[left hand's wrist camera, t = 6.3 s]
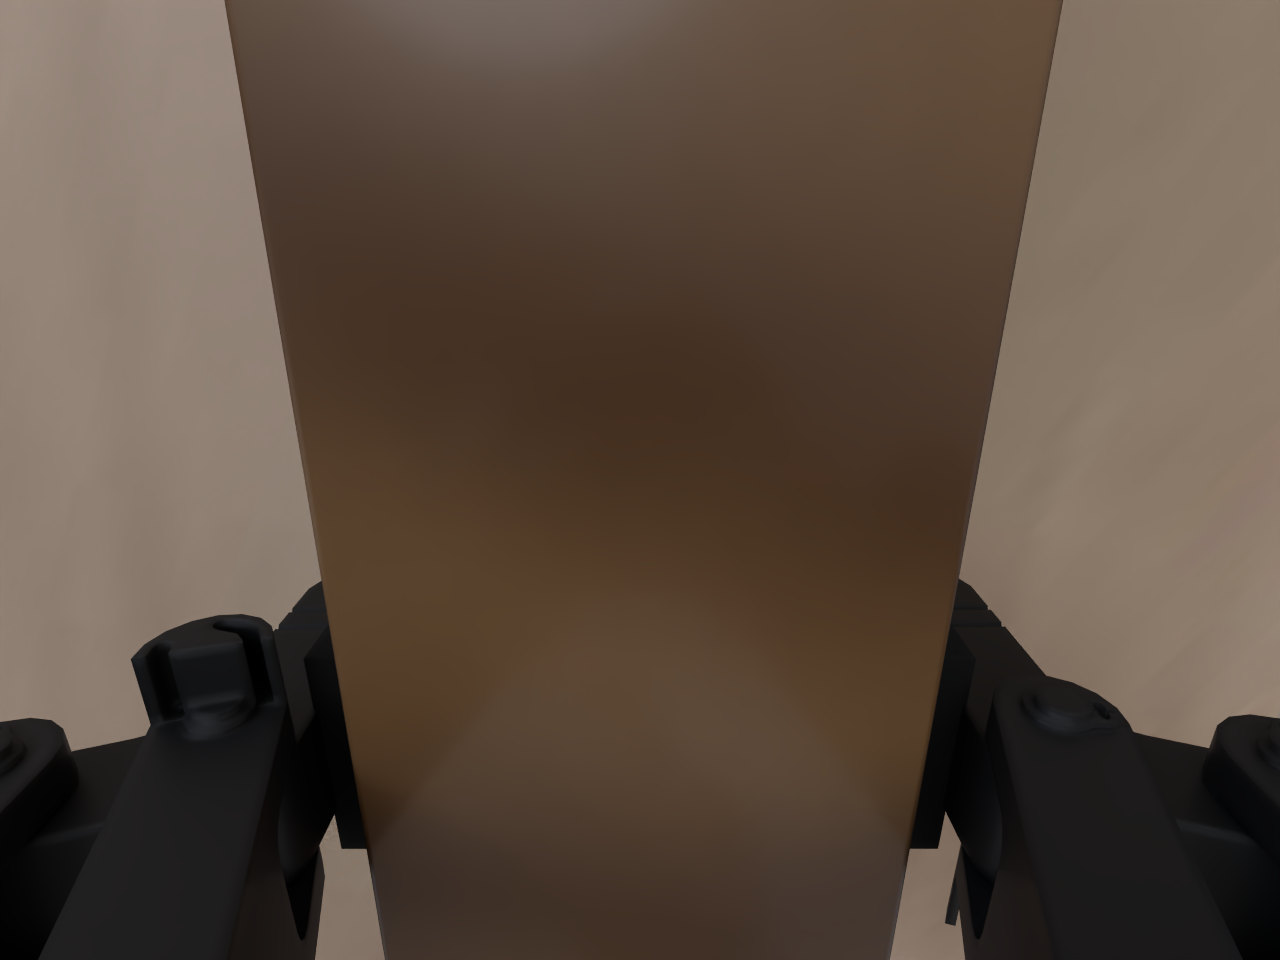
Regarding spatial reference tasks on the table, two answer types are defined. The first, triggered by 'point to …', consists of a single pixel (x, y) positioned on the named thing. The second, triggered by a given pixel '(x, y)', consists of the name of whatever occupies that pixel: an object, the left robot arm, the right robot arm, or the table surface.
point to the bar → (640, 440)
